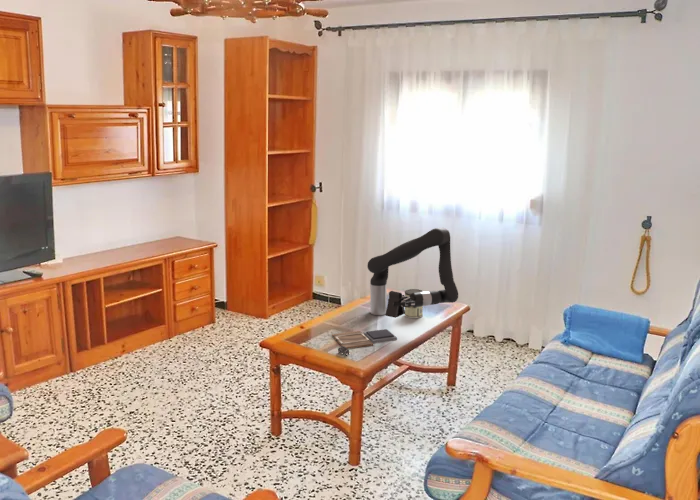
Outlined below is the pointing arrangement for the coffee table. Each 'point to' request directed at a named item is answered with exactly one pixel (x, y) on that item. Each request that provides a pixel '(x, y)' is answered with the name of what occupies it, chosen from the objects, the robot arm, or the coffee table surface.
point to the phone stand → (395, 310)
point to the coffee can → (413, 311)
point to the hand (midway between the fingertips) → (390, 302)
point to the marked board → (352, 339)
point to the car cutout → (343, 350)
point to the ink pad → (380, 335)
